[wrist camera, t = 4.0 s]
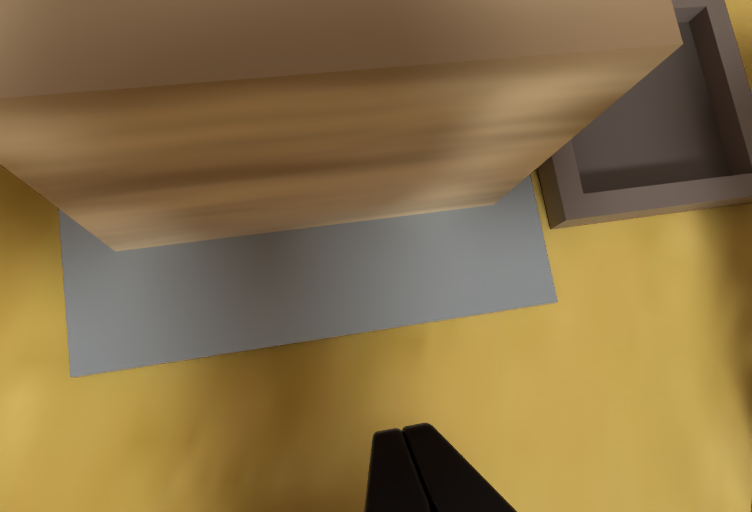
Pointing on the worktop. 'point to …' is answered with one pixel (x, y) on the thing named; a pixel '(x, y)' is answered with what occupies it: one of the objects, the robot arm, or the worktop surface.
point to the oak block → (302, 105)
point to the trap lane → (423, 232)
